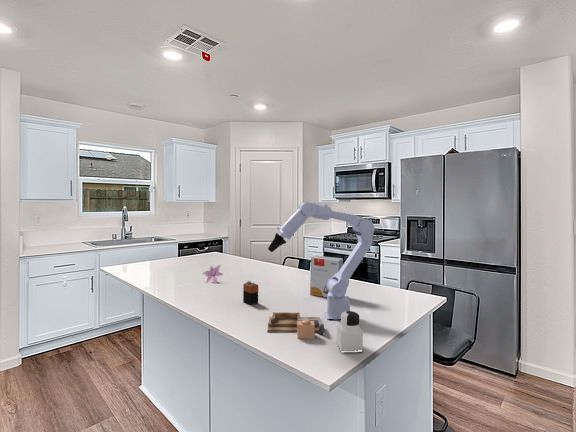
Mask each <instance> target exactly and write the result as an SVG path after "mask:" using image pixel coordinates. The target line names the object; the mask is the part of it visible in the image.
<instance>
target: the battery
mask: <svg viewBox="0 0 576 432" xmlns="http://www.w3.org/2000/svg"><path fill="white" fill-rule="evenodd" d="M242 286H243V288H242V289H243V290H242V291H243V294H242V296H243V298H242V302H243V303H246V304H248V305H251V306H254V305H257V304H259V284H257V283H255V282H252V281H251V280H248V281H247V280H246V282H244V283H243V285H242Z"/></svg>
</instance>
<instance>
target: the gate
mask: <svg viewBox="0 0 576 432" xmlns="http://www.w3.org/2000/svg"><path fill="white" fill-rule="evenodd" d="M302 320H309V321H314V324H319V332H318V335H324V330H325V326H324V325H325V324H324V323H323V321H322V318H320V319H298V321H302Z"/></svg>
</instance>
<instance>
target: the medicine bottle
mask: <svg viewBox="0 0 576 432" xmlns="http://www.w3.org/2000/svg"><path fill="white" fill-rule="evenodd" d="M336 326H337V327H336V329H337V330H336V332H337V333H336V345H337V344H338V345H337V347H338V346H339V347H338V349H339V348H340V350H339V351H355V350H356V351H358V350H362V351H363V345H364V344H363V342H364V340H363V339H364V338H363V337H364V331H363V330H362V328H361V327H360V314H359V313H358V312H355V311H351V310H350V311H345V312H342V313H341V320H340V323H337V325H336Z"/></svg>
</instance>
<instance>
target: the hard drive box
mask: <svg viewBox="0 0 576 432" xmlns="http://www.w3.org/2000/svg"><path fill="white" fill-rule="evenodd" d="M343 265H344V259H343V258H341V257H333V256H332V257H331V256H323V255H322V256H321V255H314V256H311V258H310V282H309V283H310V284H309V285H310V286H309V287H310V288H309V295H310V296H315V295H316V297H322V296H323V297H324V298H327V294H328V292H329V291H328V290H327V287H326V283H327V281H328V280H329V279H331V278H332V277H333V276H334V275H335V274H336V273H338V272H339V271H340V269H341V268H342V266H343Z"/></svg>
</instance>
